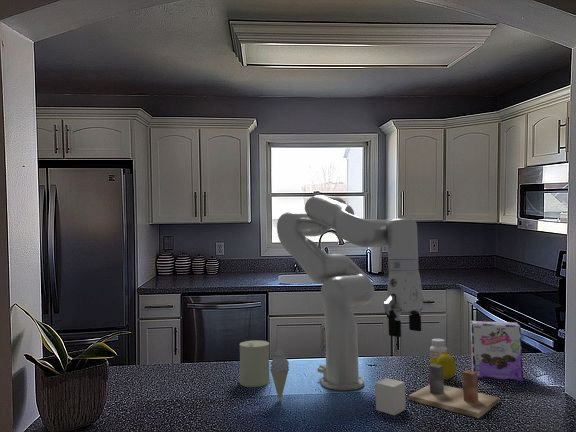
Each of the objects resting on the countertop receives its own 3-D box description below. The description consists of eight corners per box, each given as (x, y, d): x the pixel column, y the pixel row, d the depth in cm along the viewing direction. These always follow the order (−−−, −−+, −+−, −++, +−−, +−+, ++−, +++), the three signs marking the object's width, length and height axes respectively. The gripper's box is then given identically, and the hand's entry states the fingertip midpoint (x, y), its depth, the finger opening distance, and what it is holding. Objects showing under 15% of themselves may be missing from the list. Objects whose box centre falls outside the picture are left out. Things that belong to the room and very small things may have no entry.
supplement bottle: (446, 368, 142) (445, 338, 142) (450, 373, 136) (448, 341, 137) (429, 368, 142) (428, 337, 143) (432, 372, 137) (431, 341, 138)
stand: (408, 400, 113) (407, 368, 114) (433, 387, 123) (432, 357, 124) (478, 418, 100) (477, 382, 101) (499, 402, 110) (497, 369, 111)
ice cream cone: (273, 405, 111) (272, 345, 112) (268, 398, 116) (267, 341, 117) (291, 402, 112) (290, 344, 113) (286, 396, 117) (285, 340, 118)
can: (234, 385, 127) (234, 344, 128) (246, 376, 136) (246, 338, 137) (263, 388, 124) (263, 346, 125) (274, 378, 133) (273, 339, 134)
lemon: (458, 383, 126) (457, 355, 127) (438, 382, 127) (437, 354, 128) (454, 377, 132) (453, 351, 132) (435, 376, 133) (434, 350, 133)
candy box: (473, 377, 131) (470, 323, 132) (471, 372, 137) (469, 320, 138) (524, 381, 127) (520, 325, 128) (520, 376, 132) (517, 321, 133)
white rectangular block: (376, 409, 107) (375, 382, 107) (387, 404, 110) (386, 377, 111) (394, 415, 103) (393, 387, 103) (405, 409, 107) (404, 382, 107)
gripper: (397, 268, 103) (399, 341, 102) (433, 265, 115) (435, 330, 113) (371, 267, 108) (373, 336, 107) (408, 264, 120) (410, 326, 119)
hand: (405, 333), depth 110 cm, fingers open, 9 cm apart
